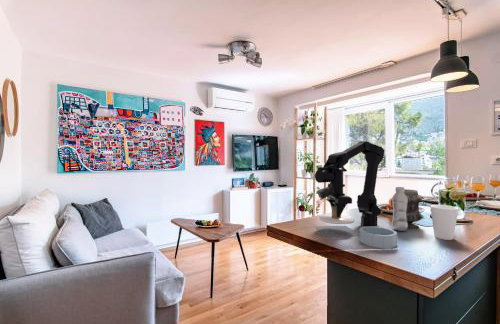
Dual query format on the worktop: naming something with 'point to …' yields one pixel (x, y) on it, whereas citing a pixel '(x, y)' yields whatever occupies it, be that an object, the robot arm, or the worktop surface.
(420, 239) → the worktop surface
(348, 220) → the lid
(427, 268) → the worktop surface
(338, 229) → the mat
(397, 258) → the worktop surface
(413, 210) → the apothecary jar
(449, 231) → the foam cup
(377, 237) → the dish
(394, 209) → the plastic bottle
